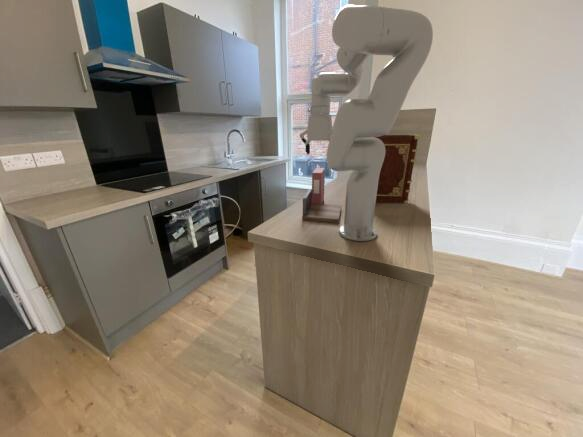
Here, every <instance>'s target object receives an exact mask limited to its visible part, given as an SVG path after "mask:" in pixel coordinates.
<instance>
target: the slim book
mask: <svg viewBox="0 0 583 437" xmlns="http://www.w3.org/2000/svg"><path fill="white" fill-rule="evenodd" d="M325 174H326V167H316V168H314V170H313V171H312V172H311V189H312V204H323V205H324V201H325V181H326V180H325V179H326V178H325V177H326V175H325Z"/></svg>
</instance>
